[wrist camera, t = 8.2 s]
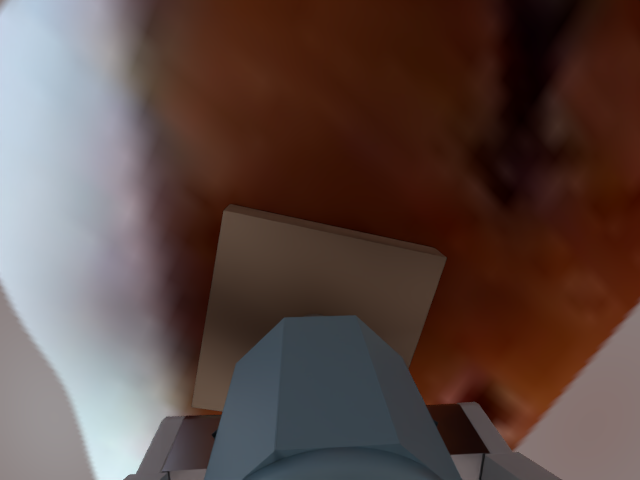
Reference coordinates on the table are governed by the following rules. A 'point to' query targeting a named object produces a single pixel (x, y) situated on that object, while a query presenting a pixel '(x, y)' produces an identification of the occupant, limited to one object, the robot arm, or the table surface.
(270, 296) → the post base
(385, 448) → the teal cap
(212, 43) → the table surface
